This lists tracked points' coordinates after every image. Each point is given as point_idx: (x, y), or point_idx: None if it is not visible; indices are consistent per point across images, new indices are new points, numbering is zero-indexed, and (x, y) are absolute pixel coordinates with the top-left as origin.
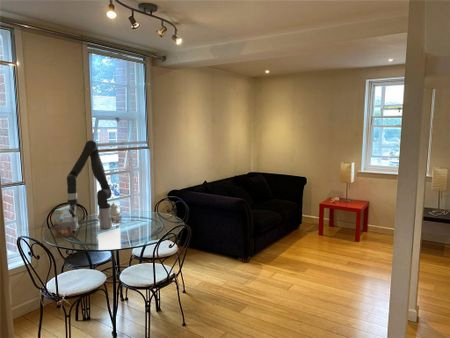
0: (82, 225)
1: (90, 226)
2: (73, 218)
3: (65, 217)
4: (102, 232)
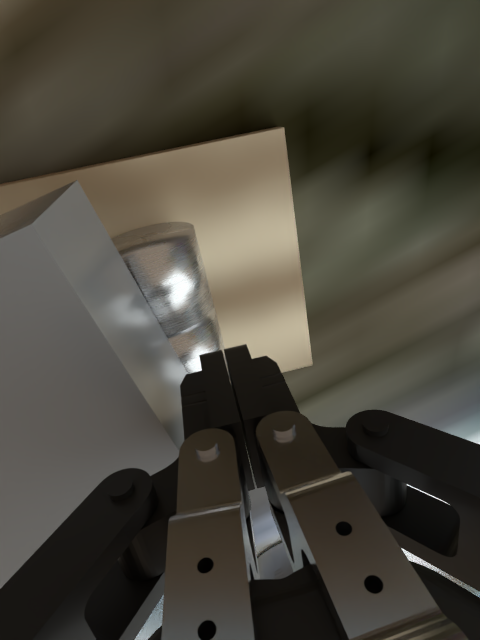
0: (406, 291)
1: (346, 420)
2: (8, 540)
3: (52, 259)
4: None
